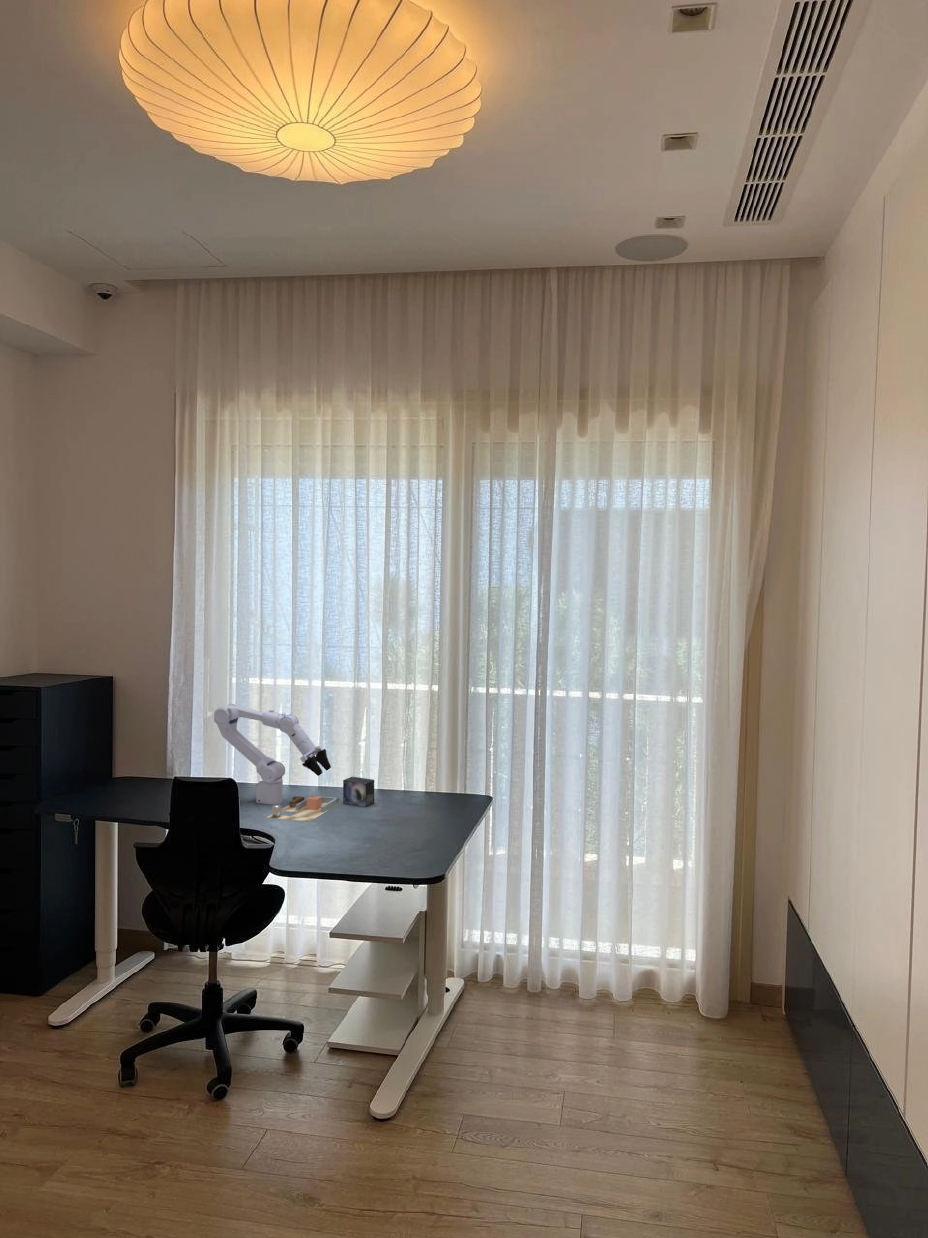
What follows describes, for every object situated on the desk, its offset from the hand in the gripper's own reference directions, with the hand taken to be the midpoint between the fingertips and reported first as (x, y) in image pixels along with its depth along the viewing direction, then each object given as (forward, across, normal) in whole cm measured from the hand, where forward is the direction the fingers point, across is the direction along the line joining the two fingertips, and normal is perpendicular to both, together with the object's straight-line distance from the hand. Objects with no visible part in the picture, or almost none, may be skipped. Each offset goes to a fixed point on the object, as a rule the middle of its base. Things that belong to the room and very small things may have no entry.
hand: (324, 771), depth 336 cm
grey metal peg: (+3, -20, +15) cm, 25 cm away
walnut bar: (+3, -3, +16) cm, 16 cm away
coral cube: (+8, -6, +9) cm, 14 cm away
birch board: (+8, -9, +12) cm, 17 cm away
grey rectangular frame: (+8, -3, +9) cm, 13 cm away
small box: (+18, +4, 0) cm, 19 cm away
